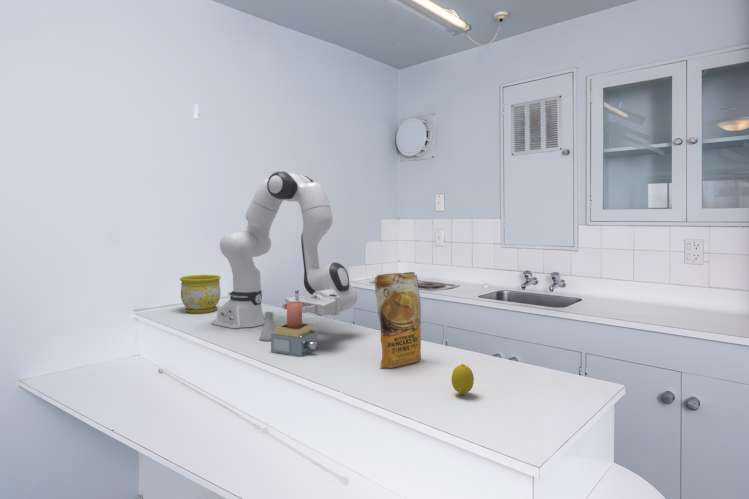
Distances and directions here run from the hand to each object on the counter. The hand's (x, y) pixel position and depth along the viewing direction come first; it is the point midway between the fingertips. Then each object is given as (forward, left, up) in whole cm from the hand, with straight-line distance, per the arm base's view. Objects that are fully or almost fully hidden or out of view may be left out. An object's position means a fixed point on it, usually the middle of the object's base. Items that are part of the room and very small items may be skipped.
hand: (292, 308), depth 157 cm
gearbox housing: (+2, +1, -15) cm, 15 cm away
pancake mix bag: (+37, +3, -15) cm, 40 cm away
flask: (-17, +10, -15) cm, 24 cm away
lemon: (+61, -15, -15) cm, 65 cm away
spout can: (0, +1, -8) cm, 9 cm away
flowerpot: (-78, +39, -15) cm, 88 cm away
